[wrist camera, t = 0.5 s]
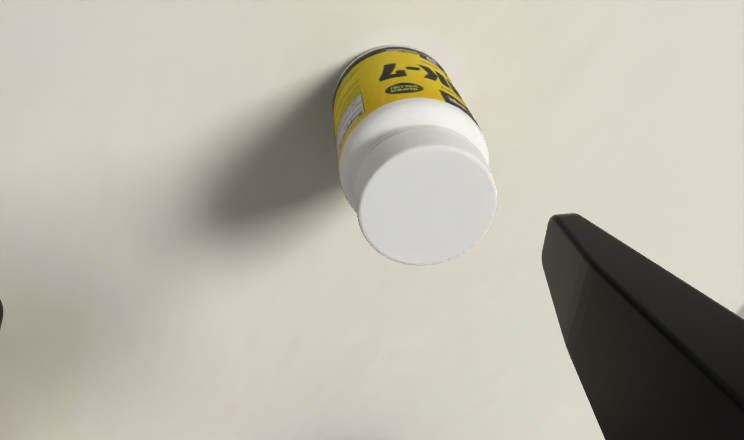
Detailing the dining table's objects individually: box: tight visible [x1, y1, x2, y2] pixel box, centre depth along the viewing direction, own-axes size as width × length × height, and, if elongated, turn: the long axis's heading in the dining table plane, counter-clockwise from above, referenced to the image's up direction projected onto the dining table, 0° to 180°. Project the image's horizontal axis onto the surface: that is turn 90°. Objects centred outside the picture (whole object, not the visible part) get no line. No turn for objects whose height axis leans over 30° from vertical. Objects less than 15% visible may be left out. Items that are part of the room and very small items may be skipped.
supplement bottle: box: [333, 45, 497, 265], centre depth 20 cm, size 5×5×8 cm
